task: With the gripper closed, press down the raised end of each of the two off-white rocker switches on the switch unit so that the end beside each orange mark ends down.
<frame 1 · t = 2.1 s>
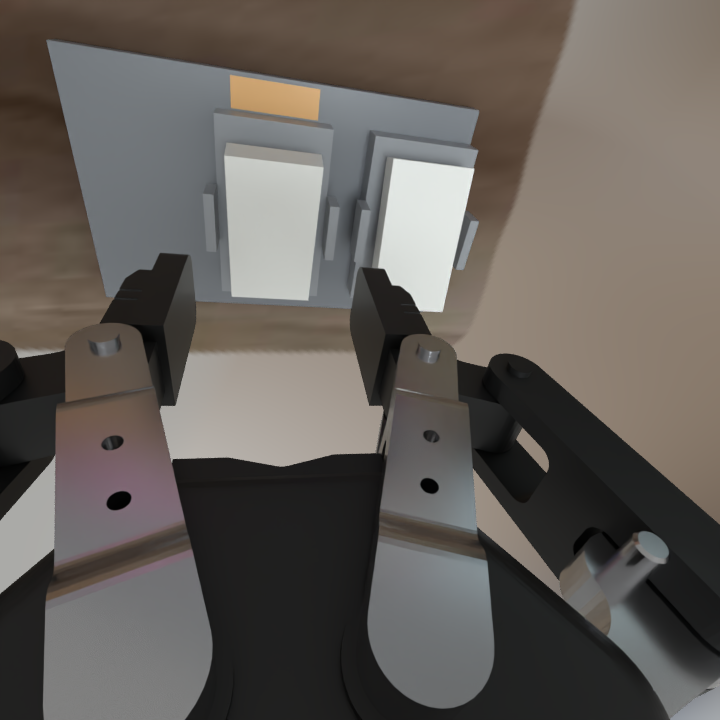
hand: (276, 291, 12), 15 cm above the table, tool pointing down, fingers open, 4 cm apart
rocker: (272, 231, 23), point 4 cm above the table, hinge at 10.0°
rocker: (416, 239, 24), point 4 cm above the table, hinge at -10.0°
switch unit: (280, 204, 26), on the table
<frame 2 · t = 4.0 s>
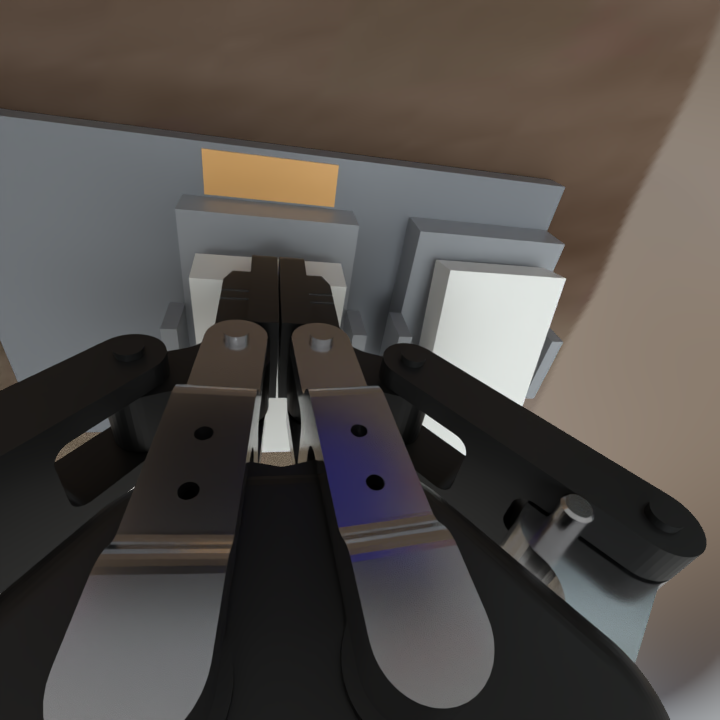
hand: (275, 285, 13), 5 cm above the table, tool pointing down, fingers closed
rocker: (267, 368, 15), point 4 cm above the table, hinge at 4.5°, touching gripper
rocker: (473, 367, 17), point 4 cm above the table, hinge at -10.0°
switch unit: (279, 308, 19), on the table
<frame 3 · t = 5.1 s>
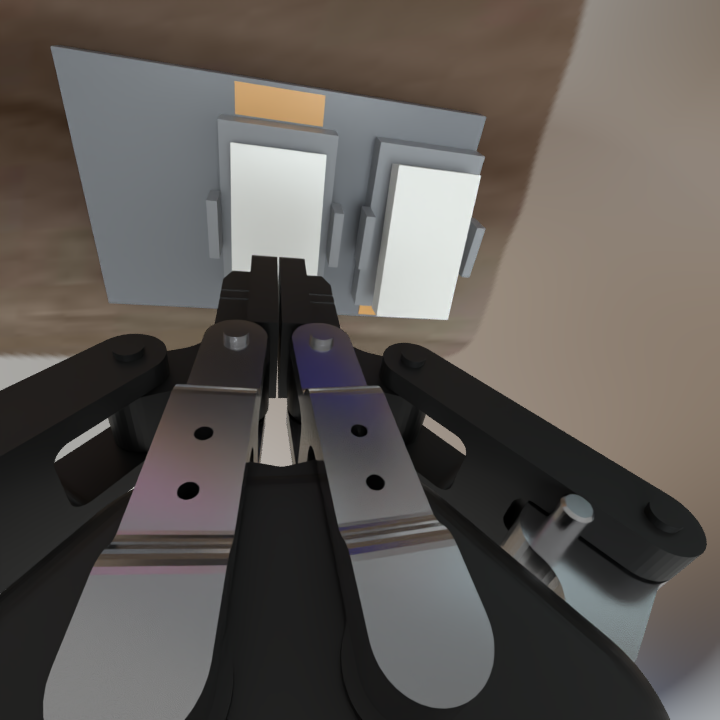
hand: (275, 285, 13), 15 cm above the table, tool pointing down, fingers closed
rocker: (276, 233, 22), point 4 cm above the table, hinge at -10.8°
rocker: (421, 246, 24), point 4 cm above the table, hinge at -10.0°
switch unit: (285, 210, 26), on the table
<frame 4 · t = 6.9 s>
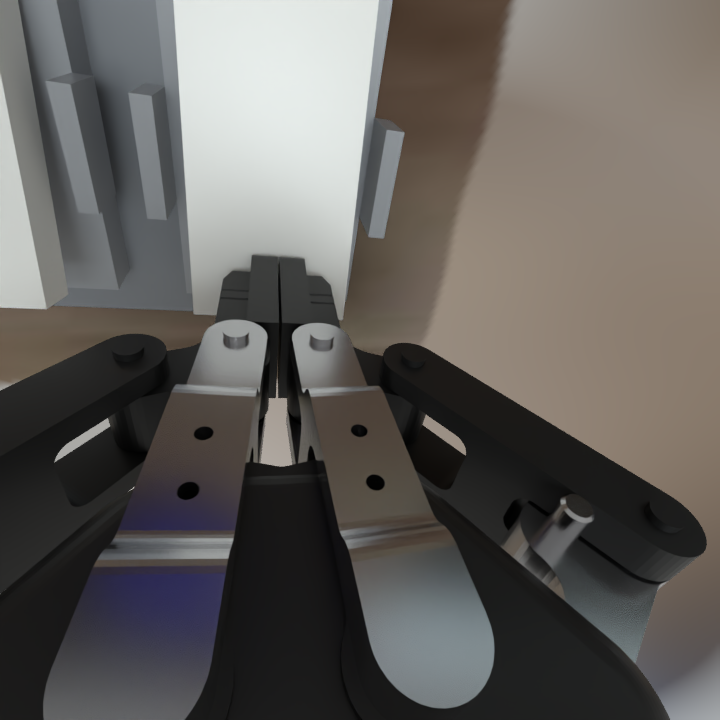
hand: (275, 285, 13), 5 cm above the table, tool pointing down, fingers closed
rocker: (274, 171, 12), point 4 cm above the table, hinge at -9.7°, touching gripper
switch unit: (25, 108, 13), on the table
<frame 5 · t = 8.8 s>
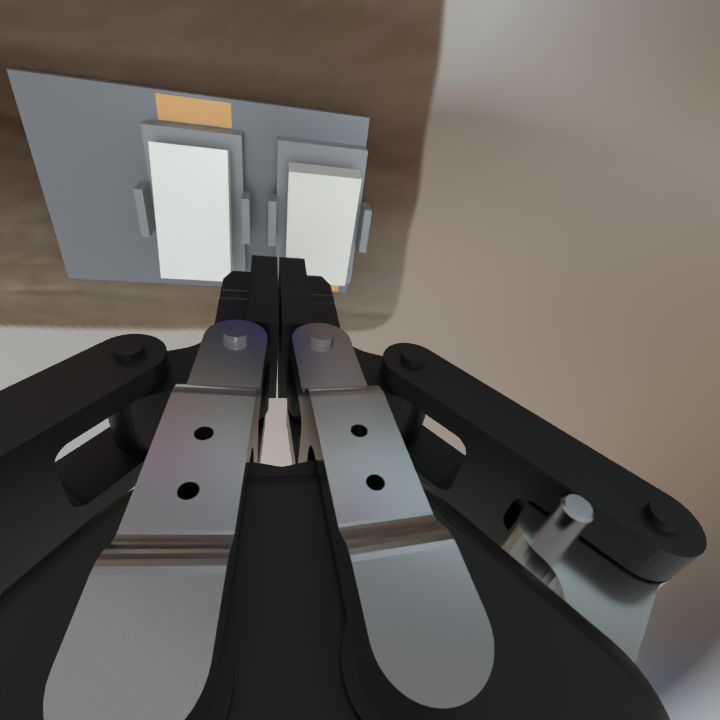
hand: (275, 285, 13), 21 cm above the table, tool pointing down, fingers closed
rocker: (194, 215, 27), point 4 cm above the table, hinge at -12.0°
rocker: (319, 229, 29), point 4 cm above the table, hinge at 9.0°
switch unit: (211, 198, 31), on the table
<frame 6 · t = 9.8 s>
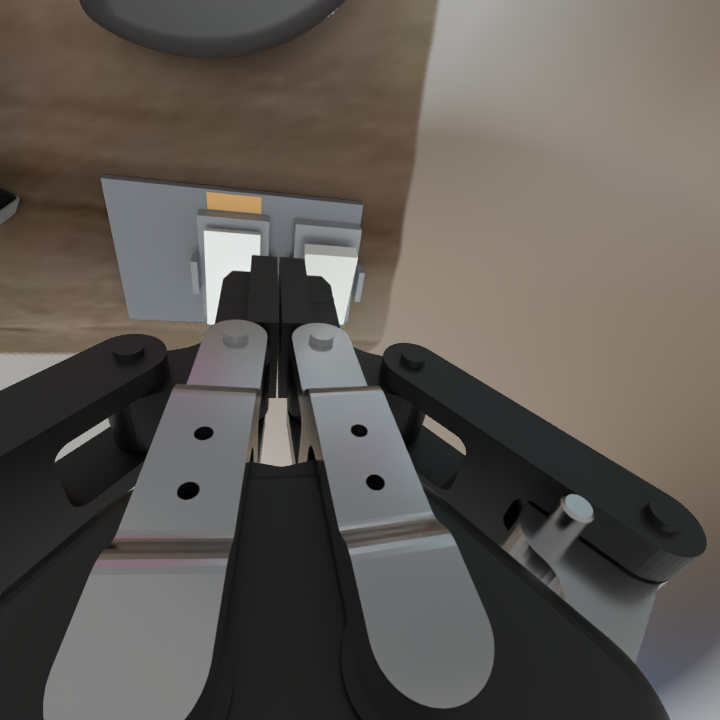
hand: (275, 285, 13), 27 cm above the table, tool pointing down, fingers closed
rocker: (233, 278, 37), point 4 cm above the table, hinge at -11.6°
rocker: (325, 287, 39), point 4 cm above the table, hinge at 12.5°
switch unit: (242, 259, 40), on the table
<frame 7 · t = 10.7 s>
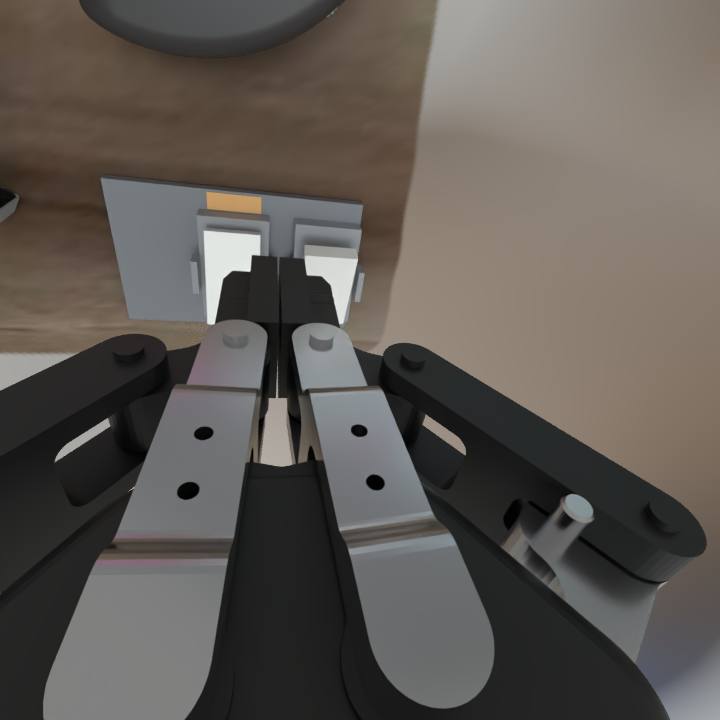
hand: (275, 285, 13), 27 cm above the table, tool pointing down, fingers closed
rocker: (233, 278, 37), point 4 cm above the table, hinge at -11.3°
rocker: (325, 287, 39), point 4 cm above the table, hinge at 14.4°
switch unit: (242, 259, 40), on the table
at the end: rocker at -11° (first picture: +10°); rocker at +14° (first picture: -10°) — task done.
